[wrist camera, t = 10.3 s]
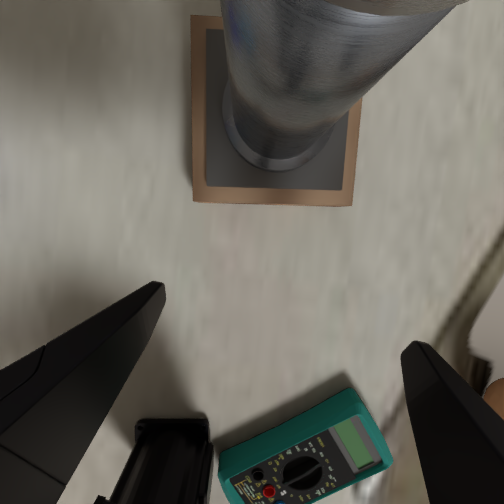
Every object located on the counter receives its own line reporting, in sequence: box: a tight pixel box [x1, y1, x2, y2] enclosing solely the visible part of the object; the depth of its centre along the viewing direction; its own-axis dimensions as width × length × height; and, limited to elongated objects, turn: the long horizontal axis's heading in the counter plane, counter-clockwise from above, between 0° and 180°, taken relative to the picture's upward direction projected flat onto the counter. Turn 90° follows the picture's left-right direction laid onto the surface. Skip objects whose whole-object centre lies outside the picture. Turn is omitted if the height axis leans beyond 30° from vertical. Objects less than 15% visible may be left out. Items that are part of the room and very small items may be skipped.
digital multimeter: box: [218, 388, 393, 504], centre depth 22 cm, size 7×15×3 cm, turn 119°
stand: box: [191, 15, 362, 207], centre depth 16 cm, size 11×11×3 cm
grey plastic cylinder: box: [220, 0, 469, 173], centre depth 9 cm, size 7×7×13 cm
